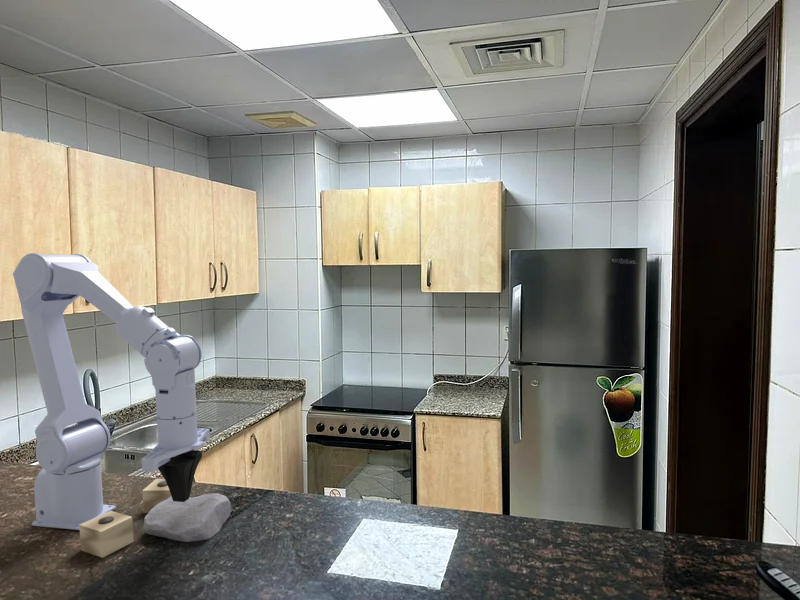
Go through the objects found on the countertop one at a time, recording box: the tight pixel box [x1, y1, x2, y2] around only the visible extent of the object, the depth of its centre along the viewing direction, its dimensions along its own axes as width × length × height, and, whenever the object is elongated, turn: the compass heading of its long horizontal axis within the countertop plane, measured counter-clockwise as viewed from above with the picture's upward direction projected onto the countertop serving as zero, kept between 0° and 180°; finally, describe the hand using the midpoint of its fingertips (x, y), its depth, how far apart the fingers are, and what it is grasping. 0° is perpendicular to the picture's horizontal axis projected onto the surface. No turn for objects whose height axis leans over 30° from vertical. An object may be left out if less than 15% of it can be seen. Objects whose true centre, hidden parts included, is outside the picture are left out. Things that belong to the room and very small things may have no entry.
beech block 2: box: [141, 478, 171, 514], centre depth 93 cm, size 5×5×4 cm
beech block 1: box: [79, 510, 134, 559], centre depth 80 cm, size 5×5×4 cm
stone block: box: [142, 492, 232, 543], centre depth 86 cm, size 12×5×10 cm
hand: (181, 499), depth 84 cm, fingers closed
